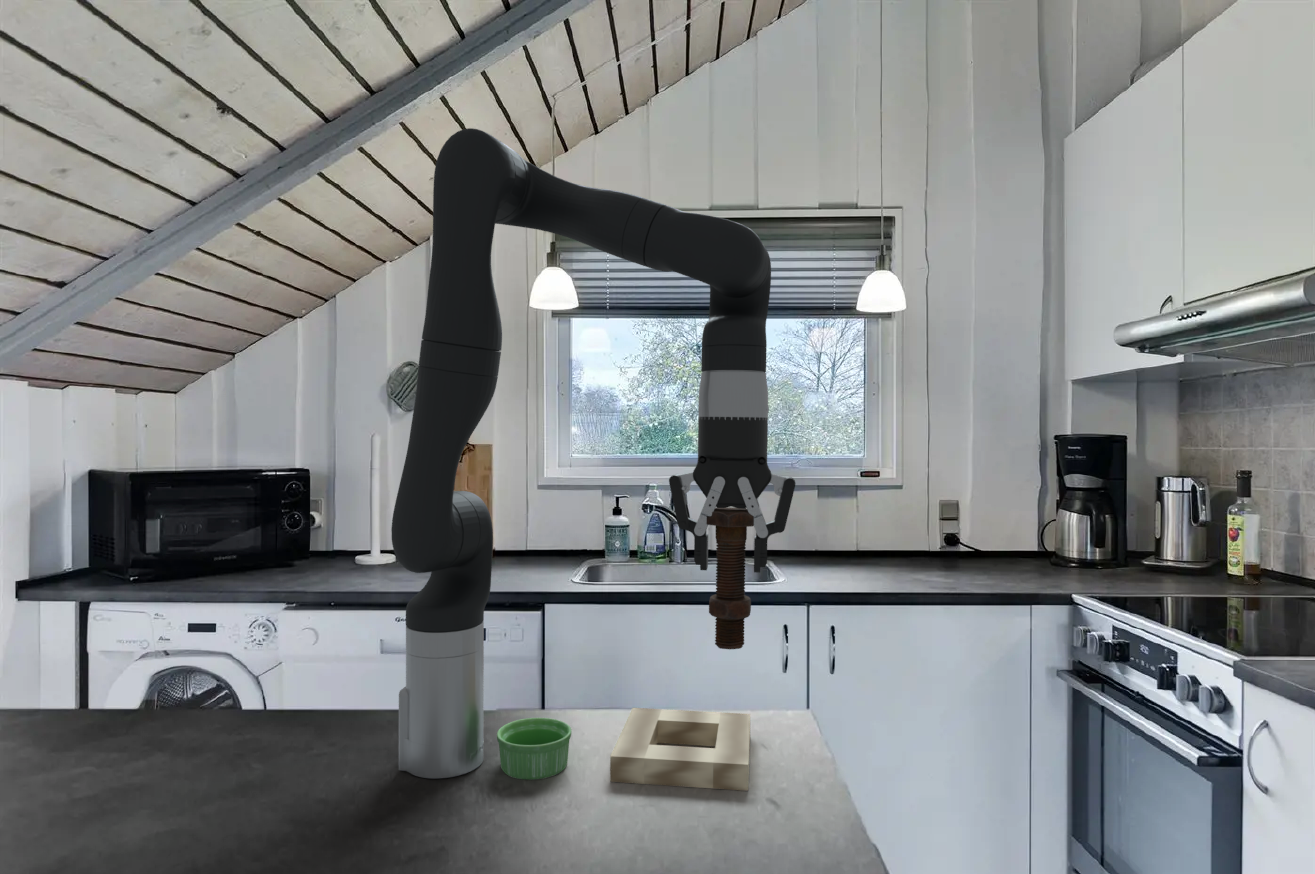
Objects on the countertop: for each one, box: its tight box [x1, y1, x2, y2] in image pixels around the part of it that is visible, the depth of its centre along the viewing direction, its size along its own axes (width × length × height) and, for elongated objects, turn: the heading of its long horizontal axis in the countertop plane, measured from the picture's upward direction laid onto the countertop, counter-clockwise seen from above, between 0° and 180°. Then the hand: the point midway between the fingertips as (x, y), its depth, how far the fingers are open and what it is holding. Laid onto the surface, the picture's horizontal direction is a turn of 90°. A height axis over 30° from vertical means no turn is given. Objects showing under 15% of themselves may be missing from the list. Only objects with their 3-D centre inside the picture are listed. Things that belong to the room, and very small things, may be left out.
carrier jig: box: [609, 707, 751, 792], centre depth 99 cm, size 16×16×3 cm
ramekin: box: [496, 717, 572, 781], centre depth 97 cm, size 9×9×4 cm
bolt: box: [706, 507, 754, 650], centre depth 86 cm, size 6×5×15 cm
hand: (730, 569), depth 86 cm, fingers closed on bolt, 5 cm apart
